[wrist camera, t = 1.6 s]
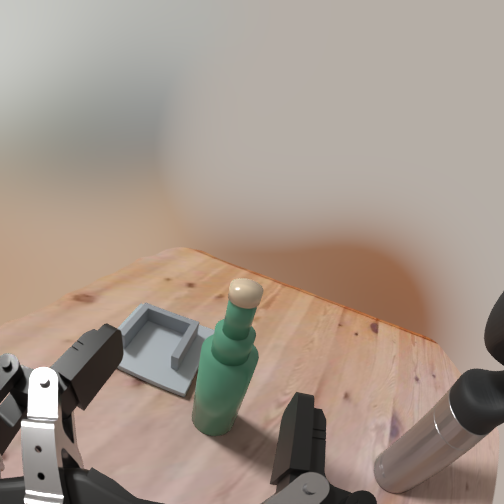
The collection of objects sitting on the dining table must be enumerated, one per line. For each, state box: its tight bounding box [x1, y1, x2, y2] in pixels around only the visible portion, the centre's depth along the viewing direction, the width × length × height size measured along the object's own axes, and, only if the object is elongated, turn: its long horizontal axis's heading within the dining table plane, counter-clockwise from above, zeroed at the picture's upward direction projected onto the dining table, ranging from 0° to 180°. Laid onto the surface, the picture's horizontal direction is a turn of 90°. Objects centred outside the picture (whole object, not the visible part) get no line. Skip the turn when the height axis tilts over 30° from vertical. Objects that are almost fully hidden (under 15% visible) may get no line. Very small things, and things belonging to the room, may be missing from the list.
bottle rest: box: [117, 303, 215, 397], centre depth 42 cm, size 16×16×4 cm
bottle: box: [192, 278, 263, 436], centre depth 28 cm, size 6×6×23 cm
